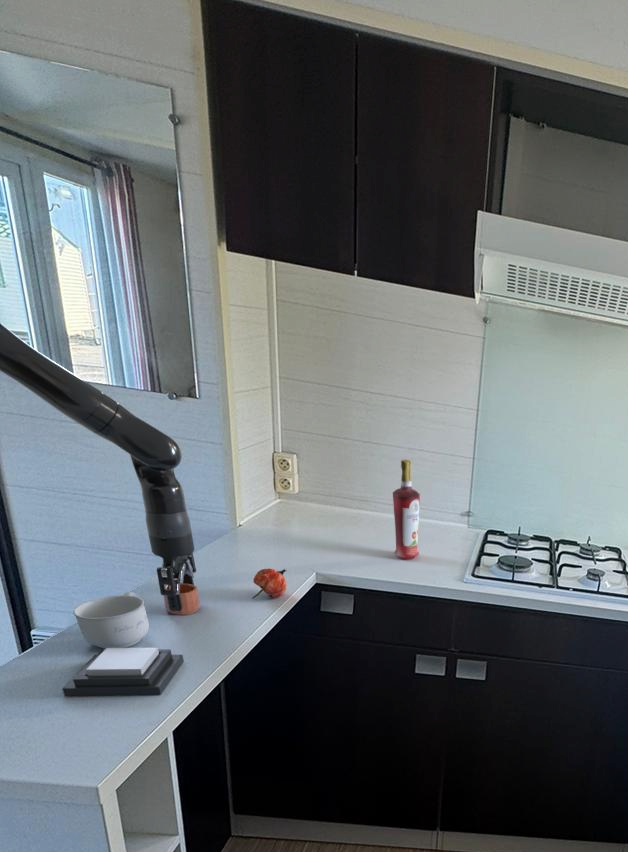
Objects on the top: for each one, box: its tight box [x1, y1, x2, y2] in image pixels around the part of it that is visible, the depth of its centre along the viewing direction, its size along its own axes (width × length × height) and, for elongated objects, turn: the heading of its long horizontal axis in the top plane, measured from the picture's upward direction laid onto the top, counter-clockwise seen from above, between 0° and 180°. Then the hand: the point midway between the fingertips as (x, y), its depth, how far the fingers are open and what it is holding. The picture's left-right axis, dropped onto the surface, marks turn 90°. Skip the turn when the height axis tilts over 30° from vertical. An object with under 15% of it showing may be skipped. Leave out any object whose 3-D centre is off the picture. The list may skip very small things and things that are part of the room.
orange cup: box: [163, 583, 201, 616], centre depth 136 cm, size 6×6×5 cm
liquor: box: [392, 459, 421, 561], centre depth 178 cm, size 7×7×28 cm
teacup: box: [73, 591, 150, 649], centre depth 121 cm, size 14×11×8 cm
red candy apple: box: [251, 568, 288, 600], centre depth 147 cm, size 7×7×10 cm
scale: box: [62, 648, 184, 697], centre depth 111 cm, size 14×12×3 cm
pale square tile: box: [86, 647, 159, 676], centre depth 110 cm, size 8×8×2 cm
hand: (183, 602), depth 137 cm, fingers open, 8 cm apart
